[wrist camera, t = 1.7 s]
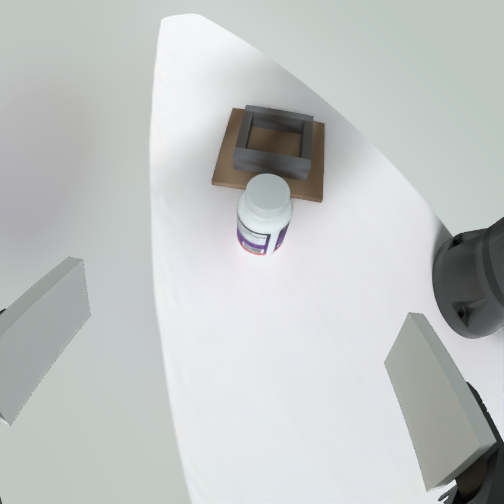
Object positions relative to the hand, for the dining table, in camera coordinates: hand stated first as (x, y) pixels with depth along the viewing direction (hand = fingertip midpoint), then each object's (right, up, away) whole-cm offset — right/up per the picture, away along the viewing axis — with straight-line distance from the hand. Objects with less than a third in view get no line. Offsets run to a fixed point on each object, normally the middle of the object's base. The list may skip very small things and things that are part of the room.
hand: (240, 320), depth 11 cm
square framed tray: (+3, +16, +29) cm, 34 cm away
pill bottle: (+1, +4, +25) cm, 25 cm away
